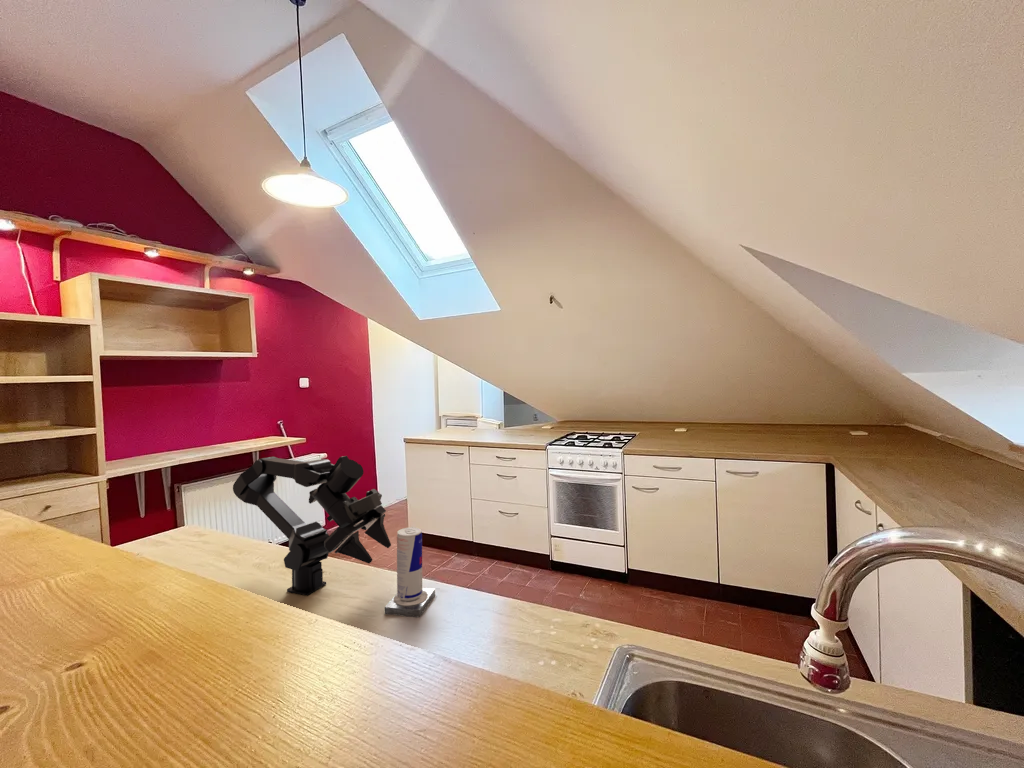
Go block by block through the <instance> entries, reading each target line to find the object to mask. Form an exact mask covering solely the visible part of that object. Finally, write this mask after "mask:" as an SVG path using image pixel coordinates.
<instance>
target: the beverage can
mask: <svg viewBox="0 0 1024 768" xmlns="http://www.w3.org/2000/svg"><path fill="white" fill-rule="evenodd" d="M396 533H397V535H396V594H397V597H398V598H399V599H401V600H404V601H412V600H415V599H417V598H419V597H420V596H421V595H422V588H423V532H422V529H420V528H419V527H413V526H411V527H404V528H401V529H399V530H397V532H396Z"/></svg>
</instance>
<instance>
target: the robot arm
mask: <svg viewBox="0 0 1024 768" xmlns="http://www.w3.org/2000/svg"><path fill="white" fill-rule="evenodd" d="M363 476H364V469H363V466H362V465H361V464H359V462H357V461H355V460H353V459H350V458H349V457H348V455H344V456H343V455H342V456H339V458H338V459H337V460H336V462H335V463H334V464H333V463H332V462H331V460H329V459H327V458H321V459H314V460H307V461H301V460H294V459H286V458H280V457H279V458H278V457H276V456H269V457H262V458H259V459H256V460H255V461H254V462H253V464H252V465H251V466H250V467H249V468H247V469H246V470H244V471H243V472H242V473H240V474H239V476H238V477H237V478H236V480H235V481H234V483H233V484H232V491H233V493H234V494H235V495H234V496H235V497H237V498H238V500H240V501H242V502H243V503H244V504H249V505H253V506H256V507H257V508H258V509H260V511H261V512H262V513H263V514H264V515H265V516H266V517H267V518H268V519H269V520H270V521H271V523H273V525H274V526H275V527H277V528H278V529H279V531H280V532H282V534H283V535H284V536H285V537H286V538H287V540H288V550H289V552H287V554H286V555H285V556H284V558H283V563H284V567H285V569H290V570H291V579H292V580H291V586H290V587H288V588H287V589H286V592H287V593H288V592H289V593H293V594H298V595H303V596H309V595H311V594H312V593H314V592H316V591H317V590H319V589H321V588H322V587H325V586H326V585H327V581H323V574H324V573H323V568H322V566H323V565H322V561H323V560H326V559H328V557H329V554H331V553H332V552H334V554H335V555H336V554H340V555H344V556H348V557H351V558H354V559H356V560H359V561H360V562H363V563H366V564H371V563H372V562H373V558H372V556H371V555H370V553H369V551H367V549H366V548H365V546H364V545H363V544H362V542H361V541H360V533H359V530H363V531H364V534H365V535H367V536H368V537H370V538H371V539H373V540H374V541H376V542H377V543H378V544H380V545H381V546H383V547H385V548H387V549H390V547H391V546H392V543H391V541H390V539H389V536H388V533H387V531H386V529H385V525H384V522H385V521H384V520H385V517H386V512H387V510H386V509H385V508H384V507H383V505H382V501H381V500H382V497H383V495H382V493H380V492H379V491H378V490H377V489H375V488H372V489H371V490H368V491H366V493H365V497H362V498H361V499H358V498H357V497H356V496H352V497H350V496H349V495H348V494H347V493H349V492H350V491H351V489H353V487H354V486H355V485H356V484H357V483H358V482H359V480H361V478H362V477H363ZM277 477H283V478H287V479H288V478H289V479H292V480H294V482H295V483H296V484H298V485H300V486H302V487H305V488H309V487H313V486H317V485H318V486H317V488H314V489H313V490H311V491H309V493H308V494H309V497H308V503H309V504H313V503H314V502H318V504H319V505H320V506H321V508H322V509H323V510H324V511H325V512H326V514H328V516H327V517H326V520H327V521H328V522H332V521H334V522H335V524H336V525H337V526H338V527H337V528H335V529H334V531H332V532H331V534H329V533H328V530H327V529H326V528H324V527H323V526H322V525H321V524H320V523H319V522H318V521H313V522H310V523H306V522H305V521H304V520H303V519H302V518H301V517H299V514H297V513H296V512H295V511H293V509H292V508H291V507H290V506H288V504H287V503H285V502H284V500H283V499H282V498H281V497H280V496H279V495H278V494H277V493H276V492H275V491H274V490H275V482H276V480H277Z"/></svg>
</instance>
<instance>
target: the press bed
mask: <svg viewBox="0 0 1024 768" xmlns="http://www.w3.org/2000/svg"><path fill="white" fill-rule="evenodd" d="M435 596H436V588H432V587H422V595H421V596H420V597H419V598H417V599H415V600H412V601H404V600H401V599H399V598H398V597H397V593H396V594H395V595H394V596H393V597H392V598H391V599H390V600H389V602H388V603H386V605H385V606H384V615H389V616H390V615H393V616H402V617H413V618H414V617H415V618H421V616H422V614H423V613H424V612H425V610H426V608H427V607H428V606H429V605H430V603H431V602H432V600H433V598H434V597H435Z"/></svg>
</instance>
